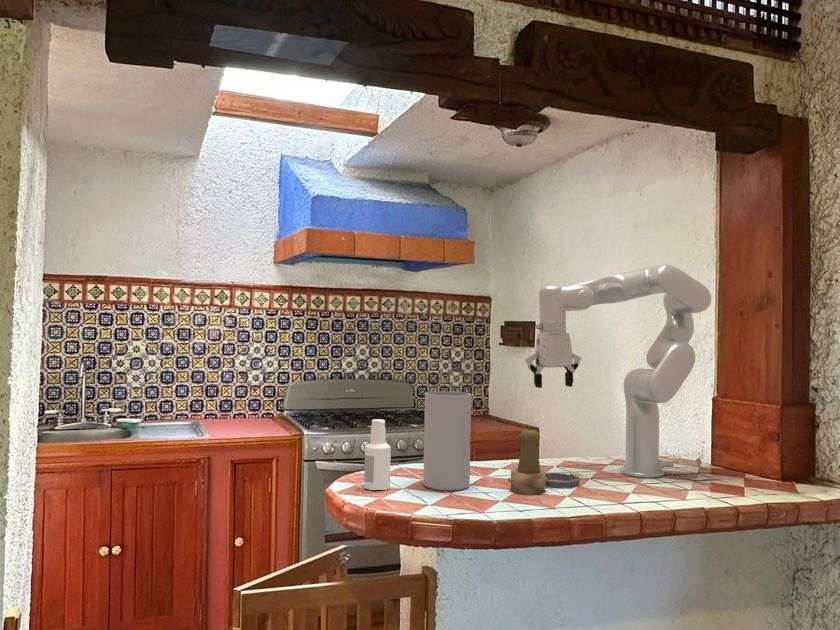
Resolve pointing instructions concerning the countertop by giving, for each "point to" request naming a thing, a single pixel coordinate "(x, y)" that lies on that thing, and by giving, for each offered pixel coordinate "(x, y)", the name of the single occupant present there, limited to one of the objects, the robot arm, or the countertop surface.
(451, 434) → the cylinder vase
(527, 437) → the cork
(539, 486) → the pot
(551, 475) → the collar
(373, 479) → the spray bottle
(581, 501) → the countertop surface
